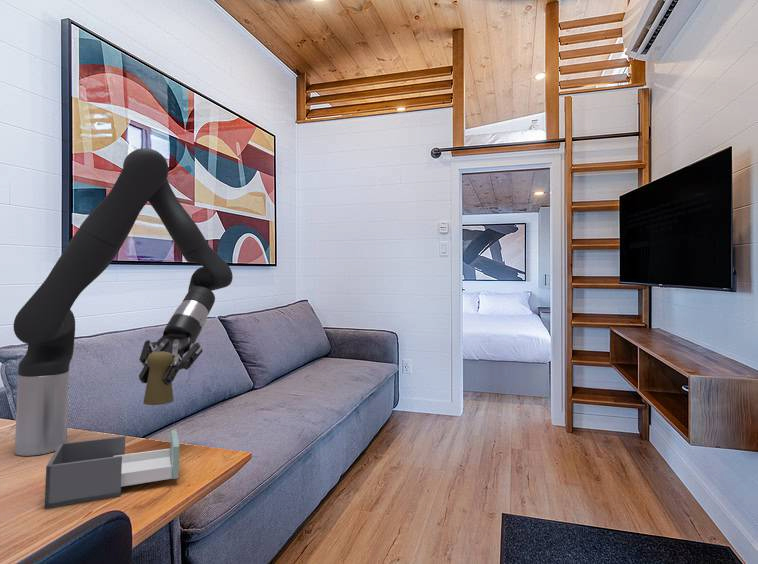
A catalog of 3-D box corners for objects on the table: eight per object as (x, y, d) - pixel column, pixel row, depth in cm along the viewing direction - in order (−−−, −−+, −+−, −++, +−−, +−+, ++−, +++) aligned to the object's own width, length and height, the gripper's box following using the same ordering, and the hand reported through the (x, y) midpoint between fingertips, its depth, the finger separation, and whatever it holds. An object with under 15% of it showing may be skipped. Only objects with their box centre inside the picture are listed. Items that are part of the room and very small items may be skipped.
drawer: (175, 458, 92) (176, 429, 92) (178, 478, 82) (179, 446, 82) (113, 466, 86) (114, 436, 87) (108, 489, 77) (109, 455, 77)
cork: (164, 405, 93) (166, 354, 93) (137, 404, 93) (139, 353, 93) (178, 398, 99) (180, 350, 99) (153, 397, 99) (154, 349, 99)
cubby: (124, 470, 88) (125, 435, 88) (120, 496, 77) (121, 456, 77) (58, 480, 83) (59, 443, 83) (44, 509, 72) (46, 466, 72)
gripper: (153, 311, 105) (115, 370, 93) (209, 313, 103) (177, 373, 91) (166, 331, 110) (131, 389, 98) (219, 333, 108) (190, 393, 96)
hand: (154, 381), depth 94 cm, fingers closed on cork, 4 cm apart
